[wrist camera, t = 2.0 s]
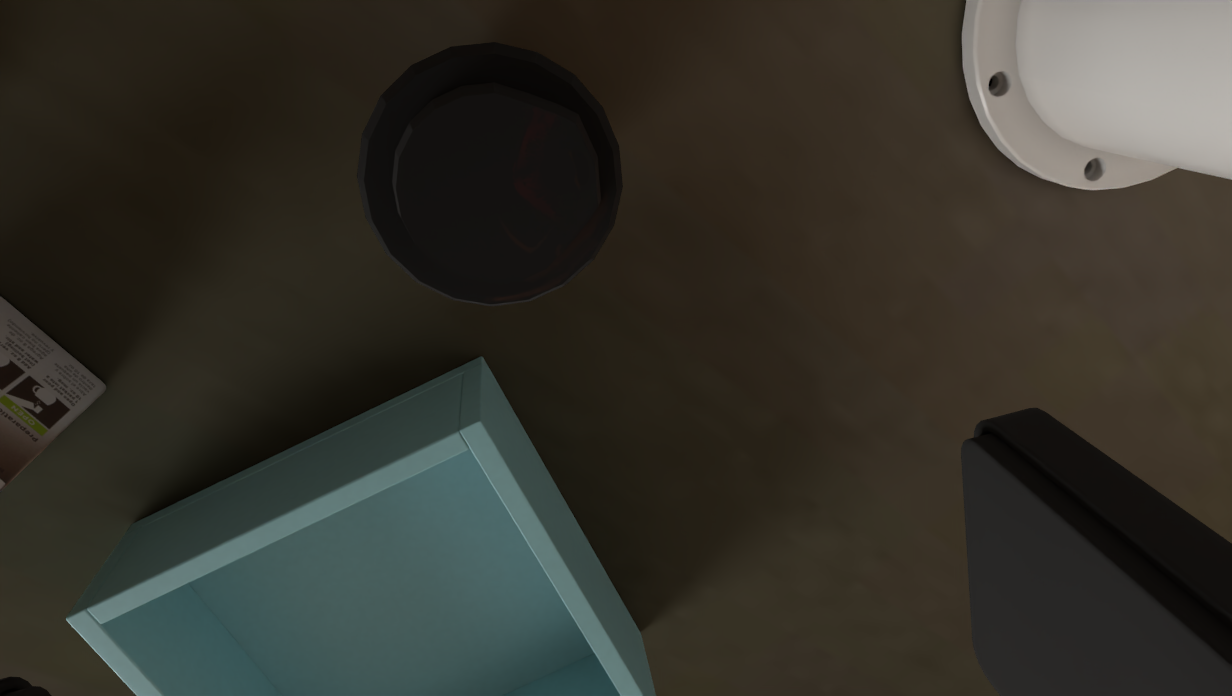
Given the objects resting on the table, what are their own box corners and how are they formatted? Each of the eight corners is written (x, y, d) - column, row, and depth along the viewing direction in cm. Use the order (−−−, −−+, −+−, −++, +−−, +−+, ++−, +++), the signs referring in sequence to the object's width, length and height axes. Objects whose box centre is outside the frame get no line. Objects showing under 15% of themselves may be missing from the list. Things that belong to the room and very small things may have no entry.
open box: (482, 355, 33) (480, 420, 28) (640, 633, 39) (664, 730, 34) (131, 523, 34) (63, 619, 29) (340, 772, 40) (317, 889, 35)
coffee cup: (430, 256, 32) (405, 355, 22) (363, 65, 29) (302, 89, 20) (610, 205, 32) (658, 282, 23) (560, 11, 29) (591, 9, 20)
